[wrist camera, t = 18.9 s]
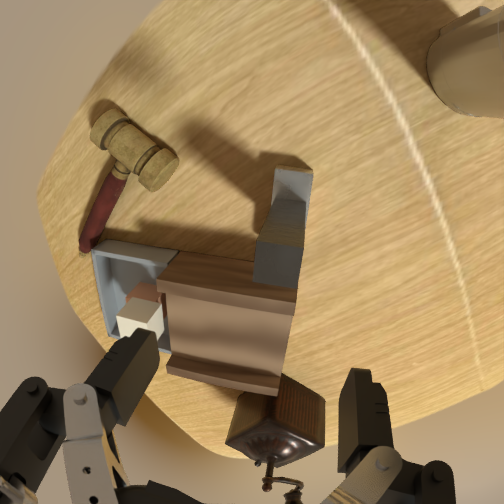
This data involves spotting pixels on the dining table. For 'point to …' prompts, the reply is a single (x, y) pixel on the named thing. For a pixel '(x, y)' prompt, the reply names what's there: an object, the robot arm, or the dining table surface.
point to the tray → (127, 278)
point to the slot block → (225, 323)
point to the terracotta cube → (149, 295)
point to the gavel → (123, 169)
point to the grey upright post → (284, 229)
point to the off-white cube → (140, 317)
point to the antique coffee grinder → (279, 430)
